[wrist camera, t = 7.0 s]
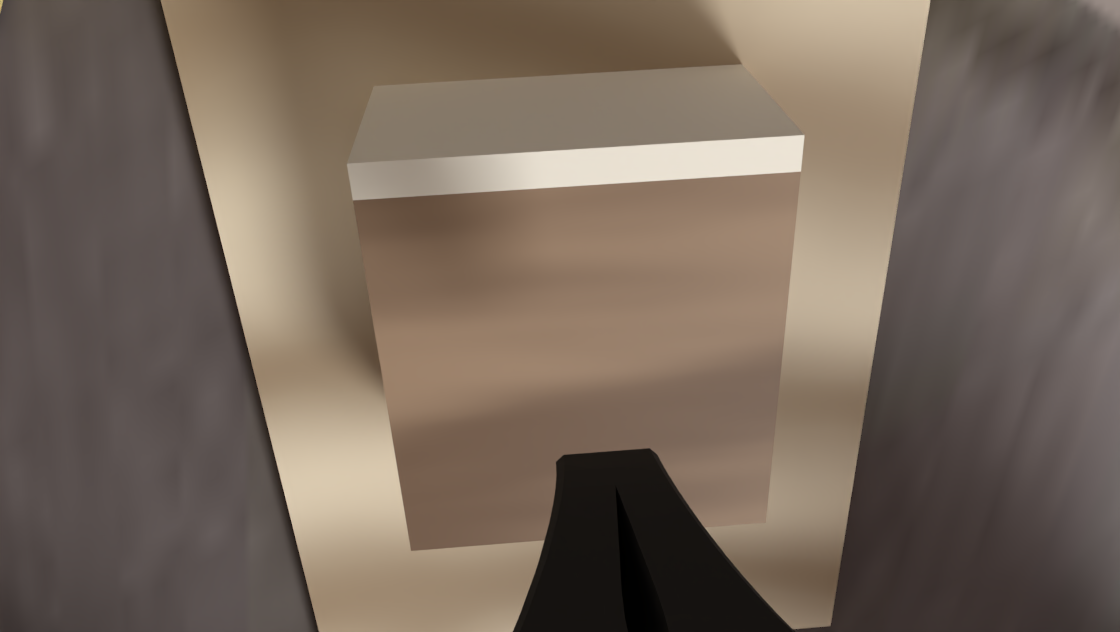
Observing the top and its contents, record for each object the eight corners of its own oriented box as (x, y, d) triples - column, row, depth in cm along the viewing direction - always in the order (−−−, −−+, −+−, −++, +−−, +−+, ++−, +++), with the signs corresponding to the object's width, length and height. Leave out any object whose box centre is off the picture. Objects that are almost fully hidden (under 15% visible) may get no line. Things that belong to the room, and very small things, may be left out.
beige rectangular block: (766, 522, 18) (804, 134, 14) (411, 551, 18) (346, 163, 14) (721, 403, 22) (742, 64, 18) (422, 426, 21) (373, 86, 17)
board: (823, 609, 26) (830, 626, 26) (331, 651, 26) (328, 668, 25) (926, -62, 17) (939, -57, 17) (167, -21, 17) (157, -15, 16)
